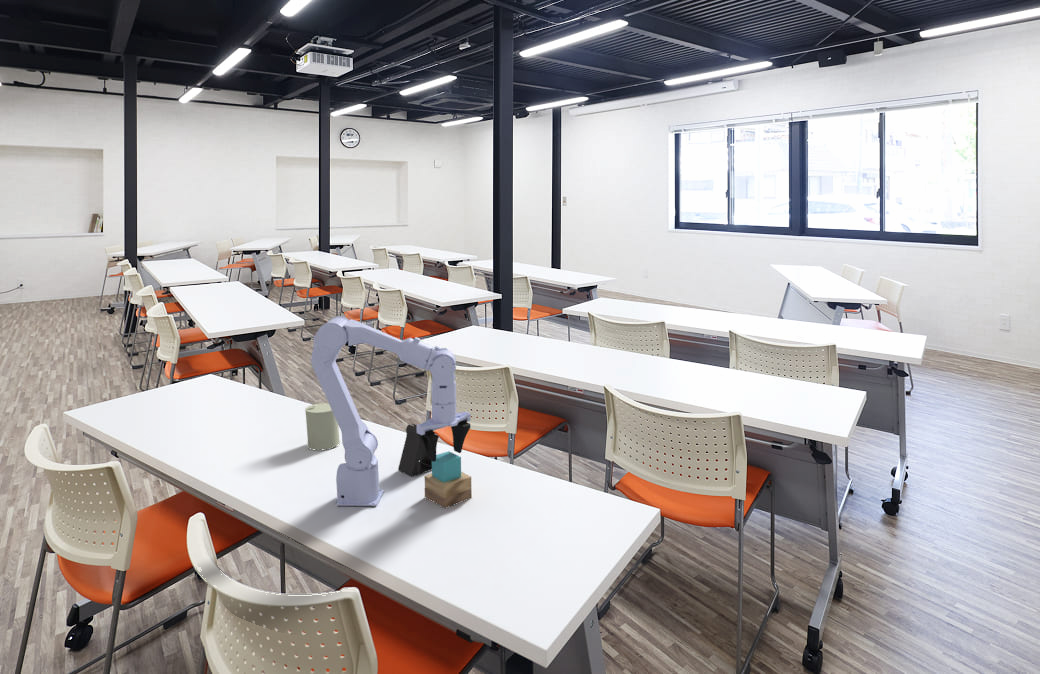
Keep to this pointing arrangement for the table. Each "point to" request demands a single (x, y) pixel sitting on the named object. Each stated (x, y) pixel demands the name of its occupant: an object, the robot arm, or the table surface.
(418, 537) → the table surface
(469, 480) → the tower top
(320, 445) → the can
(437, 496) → the tower base
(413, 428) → the phone stand
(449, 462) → the teal cube
